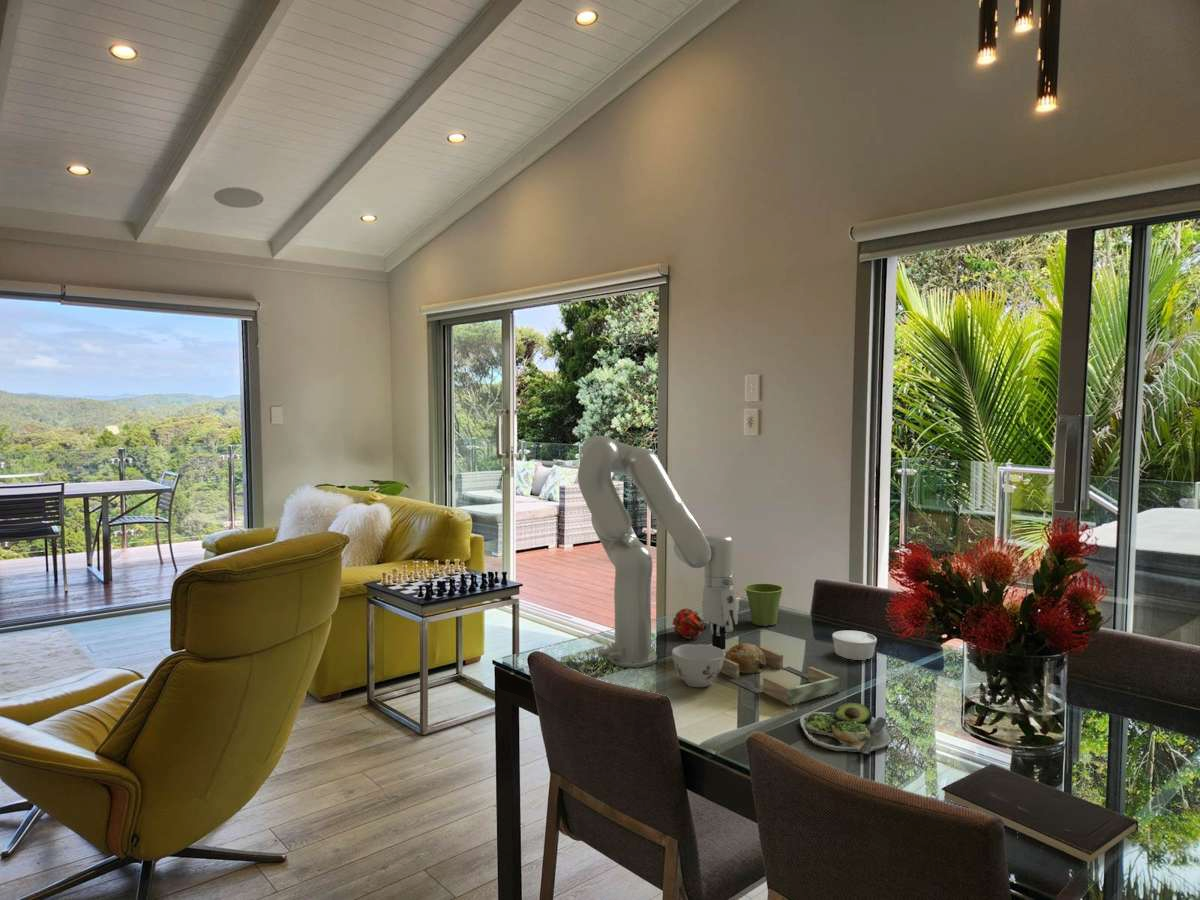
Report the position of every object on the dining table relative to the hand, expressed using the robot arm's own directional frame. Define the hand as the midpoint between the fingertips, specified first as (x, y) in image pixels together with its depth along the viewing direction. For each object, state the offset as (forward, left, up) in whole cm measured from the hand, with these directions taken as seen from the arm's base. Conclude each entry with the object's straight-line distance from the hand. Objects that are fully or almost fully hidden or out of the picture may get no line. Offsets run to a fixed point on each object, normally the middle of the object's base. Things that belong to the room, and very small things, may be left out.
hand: (718, 648), depth 204 cm
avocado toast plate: (-8, -52, -2) cm, 53 cm away
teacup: (-17, -13, -2) cm, 22 cm away
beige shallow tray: (0, -22, -2) cm, 22 cm away
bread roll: (0, -11, -2) cm, 11 cm away
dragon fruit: (+3, +18, -2) cm, 18 cm away
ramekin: (+31, -18, -2) cm, 36 cm away
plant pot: (+30, +17, -2) cm, 34 cm away
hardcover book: (-4, -89, -2) cm, 89 cm away
